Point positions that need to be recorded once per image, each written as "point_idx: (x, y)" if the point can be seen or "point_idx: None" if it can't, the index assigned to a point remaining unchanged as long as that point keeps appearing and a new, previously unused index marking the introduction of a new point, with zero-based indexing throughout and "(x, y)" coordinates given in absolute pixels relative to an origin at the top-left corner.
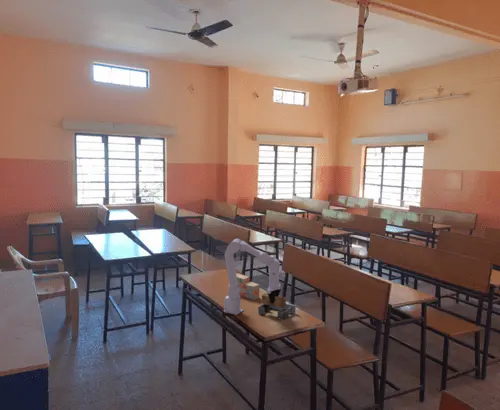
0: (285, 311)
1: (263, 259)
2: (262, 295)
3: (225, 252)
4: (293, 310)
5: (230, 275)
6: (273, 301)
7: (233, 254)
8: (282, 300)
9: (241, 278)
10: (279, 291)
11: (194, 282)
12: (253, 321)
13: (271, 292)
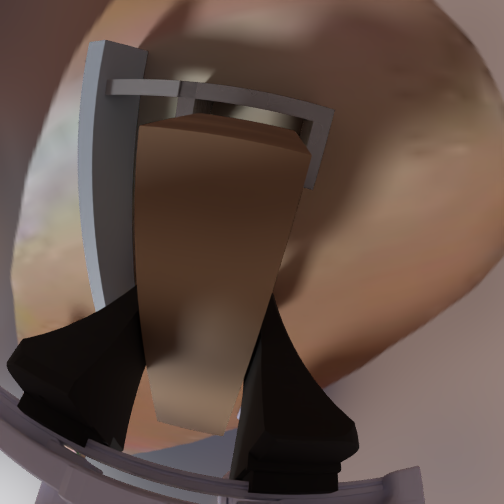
0: (275, 99)
1: None
2: (223, 431)
3: None
4: (131, 61)
5: None
6: (277, 313)
7: None
8: (300, 174)
9: (76, 452)
10: (74, 360)
11: (123, 452)
12: (390, 314)
13: (333, 478)
